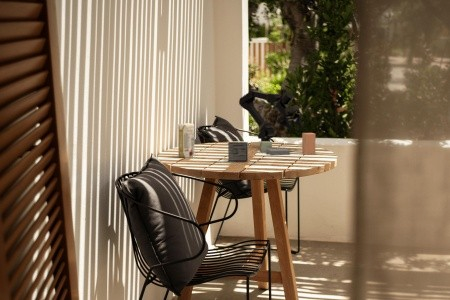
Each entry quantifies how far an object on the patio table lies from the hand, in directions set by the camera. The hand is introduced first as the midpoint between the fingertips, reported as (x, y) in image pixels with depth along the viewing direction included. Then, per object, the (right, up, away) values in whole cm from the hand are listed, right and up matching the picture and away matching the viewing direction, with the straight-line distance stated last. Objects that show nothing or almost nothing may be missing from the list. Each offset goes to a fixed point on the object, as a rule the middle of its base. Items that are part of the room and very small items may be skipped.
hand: (297, 129), depth 469 cm
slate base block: (-12, -15, -5) cm, 20 cm away
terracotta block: (+6, -15, -4) cm, 17 cm away
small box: (-36, -19, -34) cm, 53 cm away
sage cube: (-19, -14, +4) cm, 24 cm away
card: (+2, -13, +8) cm, 15 cm away
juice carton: (-66, -17, -18) cm, 70 cm away
